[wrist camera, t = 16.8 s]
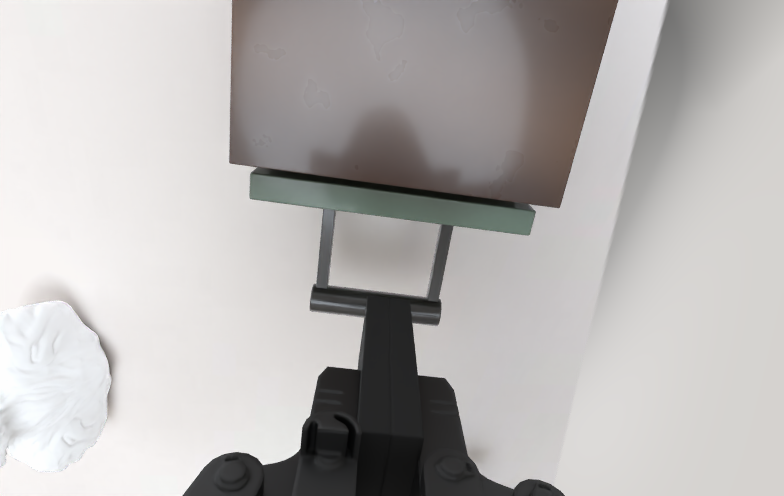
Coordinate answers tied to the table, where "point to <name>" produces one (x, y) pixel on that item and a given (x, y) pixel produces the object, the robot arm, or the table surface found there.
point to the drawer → (386, 204)
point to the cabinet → (417, 91)
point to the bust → (50, 386)
